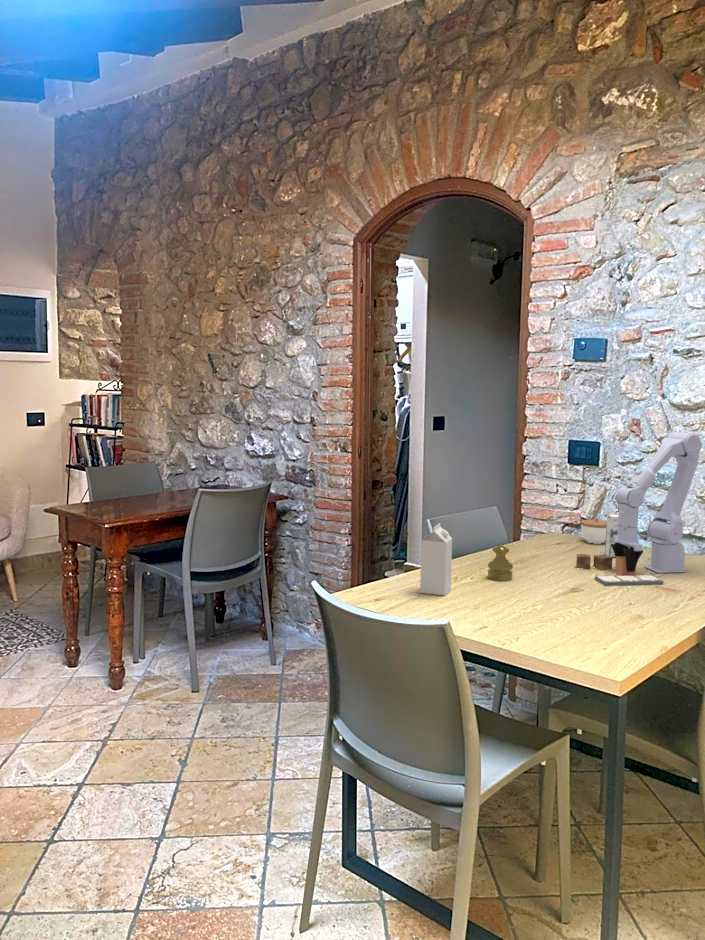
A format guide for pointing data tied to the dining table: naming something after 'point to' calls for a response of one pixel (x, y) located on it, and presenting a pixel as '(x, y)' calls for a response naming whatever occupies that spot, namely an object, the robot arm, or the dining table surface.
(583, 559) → the walnut block
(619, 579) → the board
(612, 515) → the syrup box
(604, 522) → the lidded jar
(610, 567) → the walnut block
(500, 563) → the olive green tiered piece
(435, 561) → the milk carton
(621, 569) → the orange brown block
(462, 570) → the dining table surface
